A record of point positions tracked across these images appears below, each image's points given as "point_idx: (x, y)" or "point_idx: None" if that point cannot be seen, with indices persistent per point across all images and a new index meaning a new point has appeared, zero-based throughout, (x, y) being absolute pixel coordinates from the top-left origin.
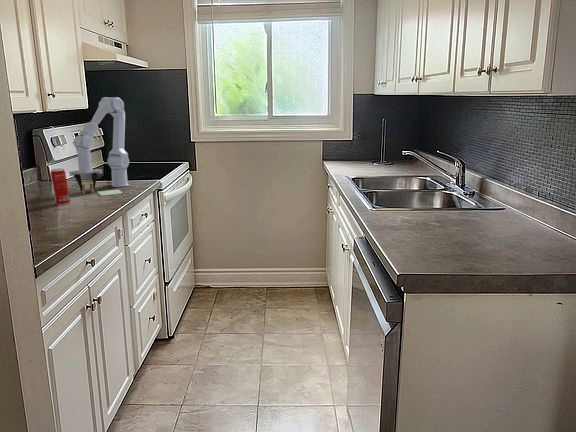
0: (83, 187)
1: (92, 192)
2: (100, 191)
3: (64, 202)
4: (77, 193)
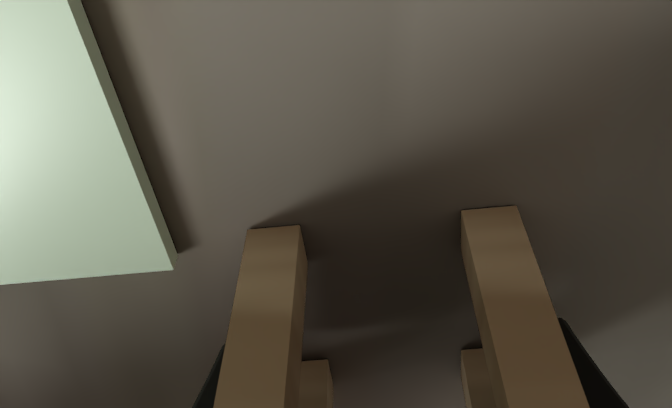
0: (528, 338)
1: (286, 233)
2: (93, 252)
3: None
4: (614, 294)
